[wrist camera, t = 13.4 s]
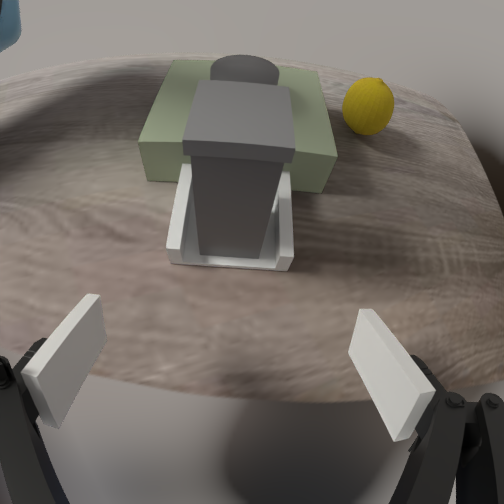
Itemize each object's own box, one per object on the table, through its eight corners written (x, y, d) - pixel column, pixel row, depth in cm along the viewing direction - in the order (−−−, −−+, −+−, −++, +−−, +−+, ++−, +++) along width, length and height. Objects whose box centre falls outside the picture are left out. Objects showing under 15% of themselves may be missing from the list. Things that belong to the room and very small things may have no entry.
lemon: (365, 118, 35) (387, 68, 28) (385, 149, 32) (413, 97, 25) (327, 117, 34) (346, 62, 27) (345, 149, 31) (370, 92, 24)
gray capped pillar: (261, 263, 24) (295, 148, 13) (195, 258, 23) (182, 139, 13) (262, 207, 26) (289, 87, 16) (203, 202, 26) (199, 79, 15)
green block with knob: (329, 273, 24) (371, 219, 17) (128, 260, 23) (95, 200, 16) (307, 104, 34) (322, 50, 27) (175, 94, 33) (172, 37, 26)
